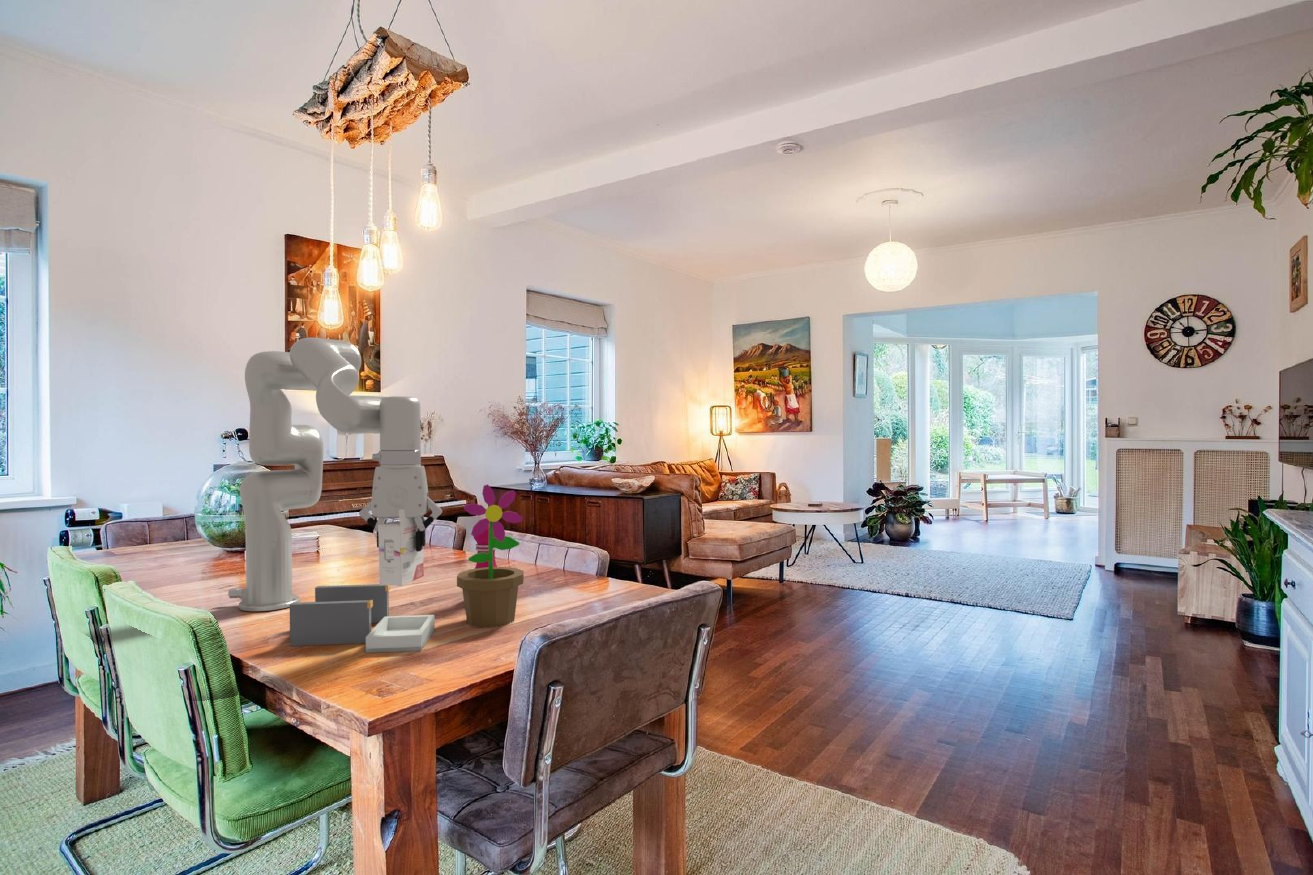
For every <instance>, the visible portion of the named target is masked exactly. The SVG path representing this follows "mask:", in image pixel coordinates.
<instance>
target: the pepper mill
mask: <svg viewBox="0 0 1313 875" xmlns="http://www.w3.org/2000/svg"><path fill="white" fill-rule="evenodd" d="M484 518H486V516H484V517H483V518H482V519H484ZM489 523H490V521H489ZM493 538H495V536H494V533H493ZM473 539H474V541H475V542H476V544H475V551H477V552H476V554H477V553H482V552H483V553H489V525H488V528H487V529H486V530H485V531H484V532H483V533H482V534H481V535H478V536H476V537H474V536H473ZM496 550H498V549H497V548H494V547H493V567H498V564H497V562H496V556H495V555H496ZM484 567H489V560H488V561H486V562H483V563H476V565H475V567H474V569H477V568H484Z"/></svg>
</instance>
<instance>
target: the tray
mask: <svg viewBox="0 0 1313 875" xmlns="http://www.w3.org/2000/svg"><path fill="white" fill-rule="evenodd" d="M435 620H436V616H435V614H423V615H422V614H421V615H420V614H418V615H416V614H415V615H414V614H413V615H396V616H395V615H391V616H390V615H389V616H386V617H384V618H383V619H382V620H381V621H380V622H379V623H376V625H375V626H374V628H373V629H371V632H370V633H369V634H368V635H367V636H366V643H365V654H375V653H376V654H378V653H379V654H380V653H397V652H398V653H399V652H400V653H401V652H419V651H420V652H421V651H423V650H424V647H425V646H426V644H427V642H428V641H429V639H430V638H431V636H432V634H433V633H434V631H435V630H436V628H435V627H436V626H435V624H436V623H435V622H436V621H435Z"/></svg>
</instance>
